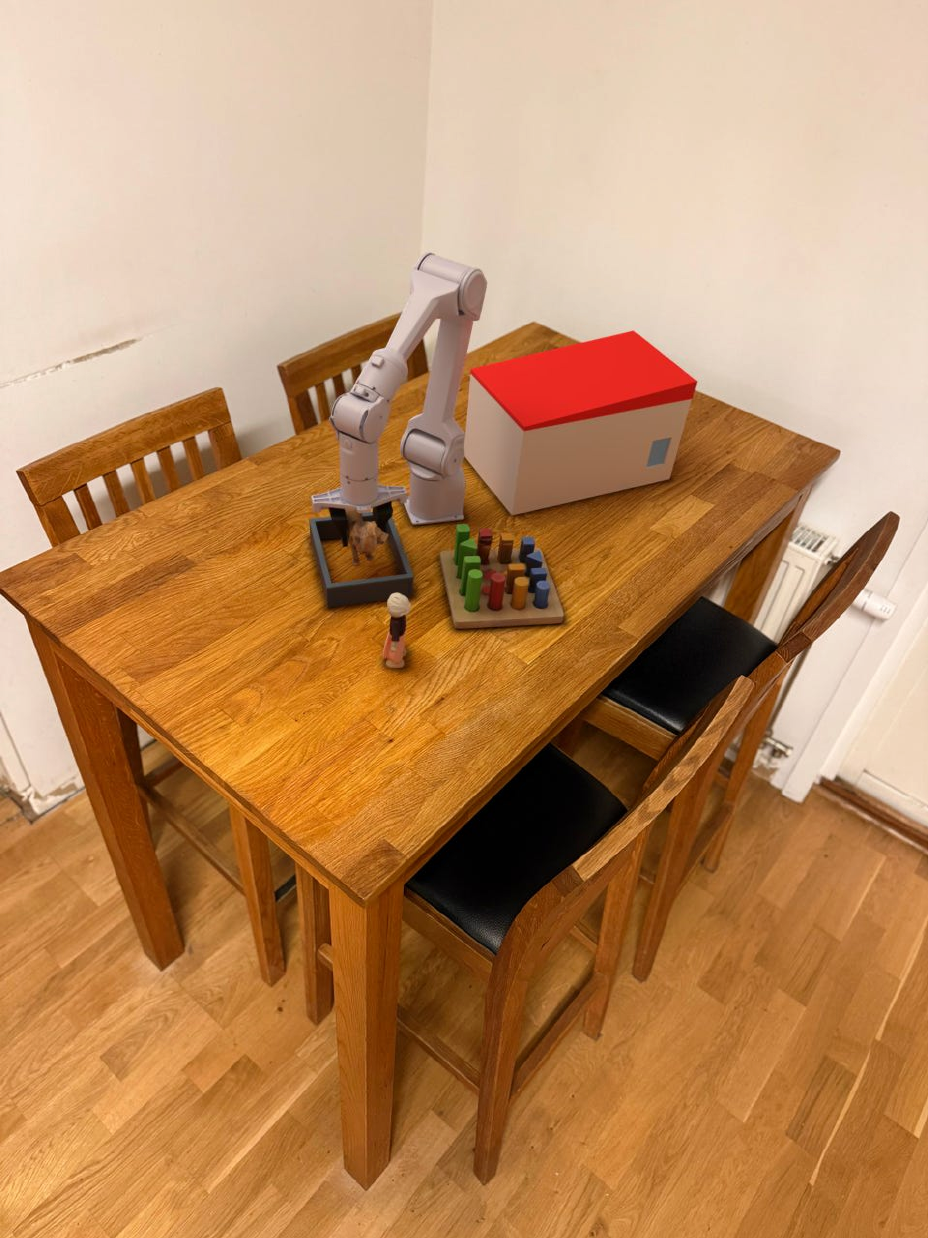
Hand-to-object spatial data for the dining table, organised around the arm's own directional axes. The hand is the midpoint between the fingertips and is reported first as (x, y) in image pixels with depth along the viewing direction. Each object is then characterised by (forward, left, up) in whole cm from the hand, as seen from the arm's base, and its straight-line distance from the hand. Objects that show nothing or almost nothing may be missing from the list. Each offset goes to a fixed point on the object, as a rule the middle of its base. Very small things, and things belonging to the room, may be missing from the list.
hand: (360, 541), depth 142 cm
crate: (0, 0, -5) cm, 5 cm away
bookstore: (-45, -22, -6) cm, 50 cm away
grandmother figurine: (-1, +22, -6) cm, 23 cm away
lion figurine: (0, 0, -2) cm, 2 cm away
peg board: (-21, +10, -6) cm, 24 cm away
